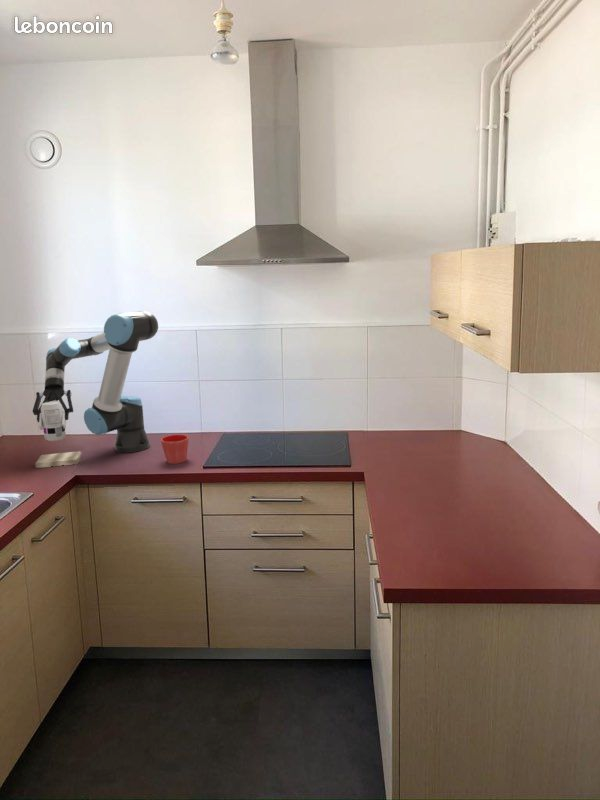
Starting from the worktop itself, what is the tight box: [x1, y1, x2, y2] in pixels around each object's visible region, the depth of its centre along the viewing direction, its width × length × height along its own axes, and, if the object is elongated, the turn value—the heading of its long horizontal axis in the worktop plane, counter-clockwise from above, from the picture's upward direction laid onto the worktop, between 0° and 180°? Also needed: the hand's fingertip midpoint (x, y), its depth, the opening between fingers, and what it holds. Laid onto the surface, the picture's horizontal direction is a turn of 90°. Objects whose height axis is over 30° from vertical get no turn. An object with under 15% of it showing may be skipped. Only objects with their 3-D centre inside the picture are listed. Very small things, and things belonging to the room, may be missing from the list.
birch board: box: [34, 451, 82, 469], centre depth 257 cm, size 16×12×2 cm
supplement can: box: [40, 400, 67, 442], centre depth 254 cm, size 8×8×15 cm
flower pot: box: [160, 434, 189, 465], centre depth 251 cm, size 11×11×10 cm
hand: (52, 427), depth 251 cm, fingers closed on supplement can, 8 cm apart
